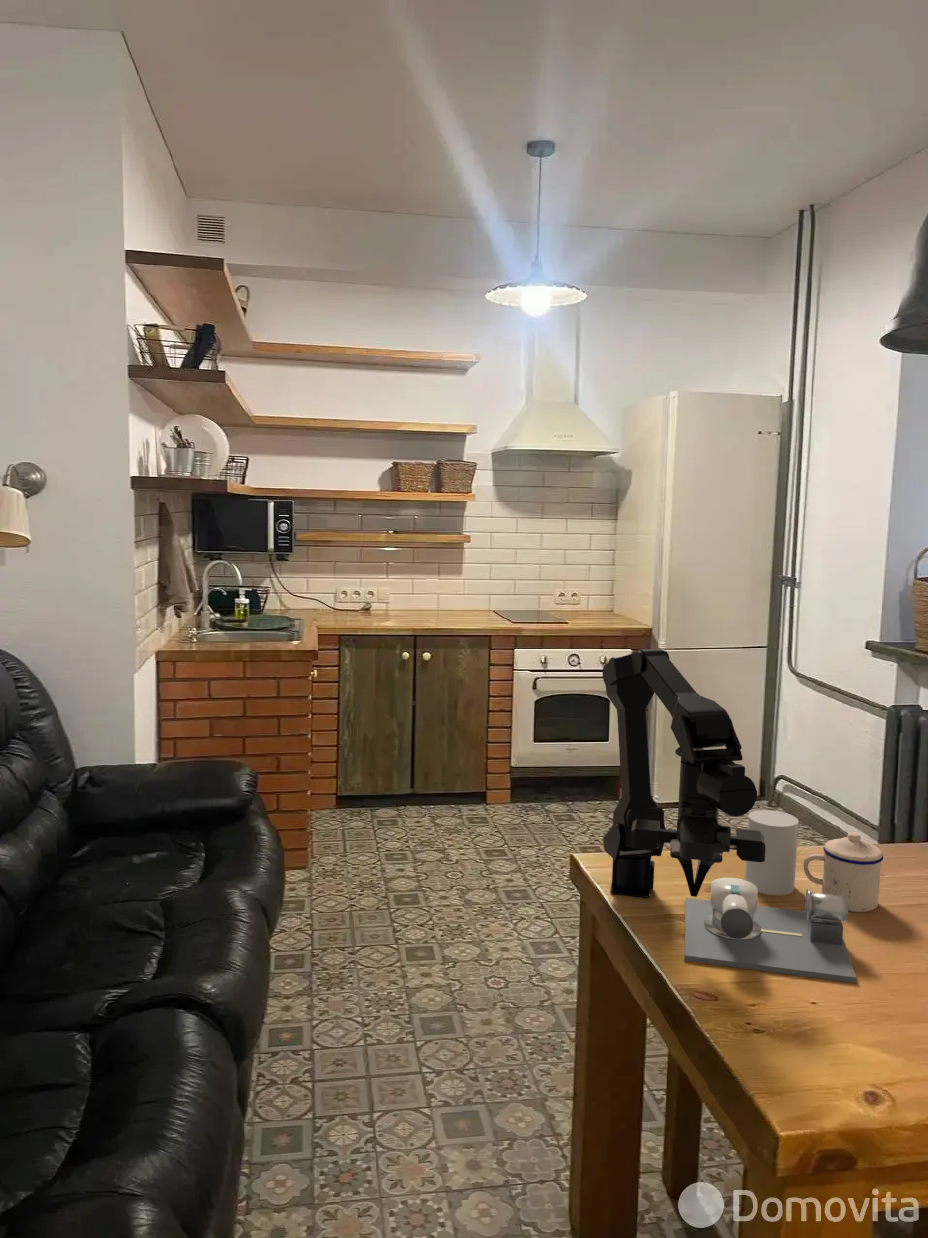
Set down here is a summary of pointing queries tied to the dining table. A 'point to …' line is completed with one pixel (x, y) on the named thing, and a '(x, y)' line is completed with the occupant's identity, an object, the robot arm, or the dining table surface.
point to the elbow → (734, 905)
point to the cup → (774, 852)
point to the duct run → (825, 917)
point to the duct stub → (714, 927)
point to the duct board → (766, 945)
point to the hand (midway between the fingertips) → (693, 895)
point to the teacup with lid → (850, 871)
